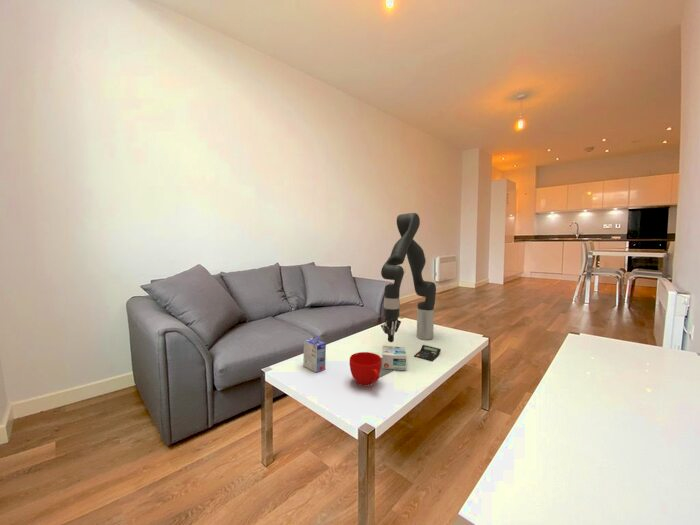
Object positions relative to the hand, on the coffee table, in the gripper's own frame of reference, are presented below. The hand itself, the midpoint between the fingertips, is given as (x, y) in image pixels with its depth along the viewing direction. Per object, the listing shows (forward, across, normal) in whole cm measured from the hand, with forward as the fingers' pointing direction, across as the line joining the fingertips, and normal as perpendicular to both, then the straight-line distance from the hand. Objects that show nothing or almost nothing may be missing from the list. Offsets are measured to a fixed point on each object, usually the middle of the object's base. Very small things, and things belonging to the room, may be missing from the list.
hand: (390, 341), depth 142 cm
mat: (+8, +11, 0) cm, 14 cm away
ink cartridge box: (+9, +33, -17) cm, 38 cm away
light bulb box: (+5, 0, +2) cm, 5 cm away
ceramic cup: (+9, +26, +9) cm, 29 cm away
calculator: (+9, -17, +10) cm, 22 cm away
